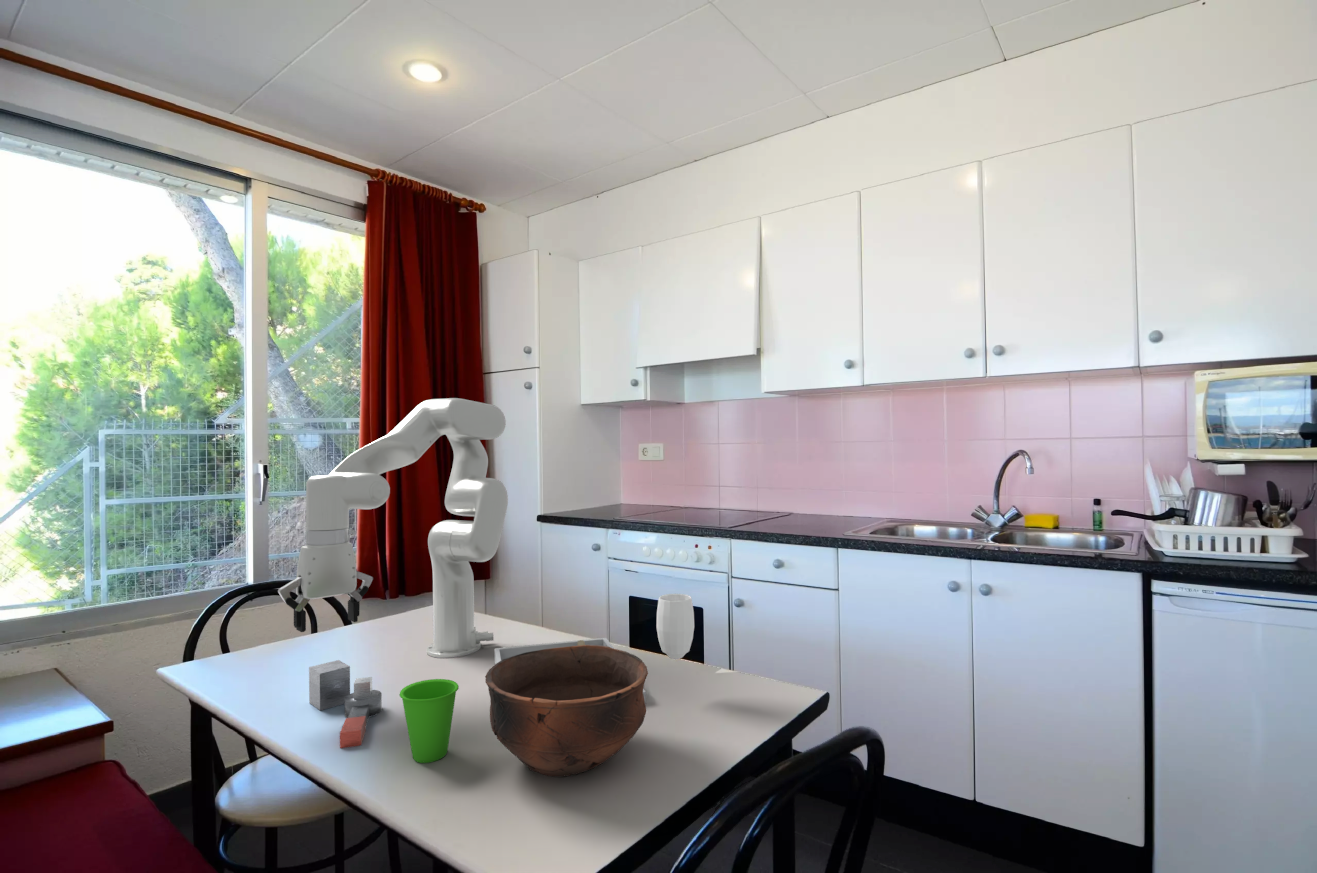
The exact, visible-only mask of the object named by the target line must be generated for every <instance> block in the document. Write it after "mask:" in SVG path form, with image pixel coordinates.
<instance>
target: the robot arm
mask: <svg viewBox="0 0 1317 873" xmlns="http://www.w3.org/2000/svg"><path fill="white" fill-rule="evenodd" d="M506 422H507V420H506V416H505V413H504V412H503V411H502V409H500V408H499V407H498V406H496V405H494V404H490V403H484V402H480V401H476V400H475V401H474V400H469V399H465V398H458V397H449V398H447V397H446V398H431V399H426V400H423V401H422V402H420V403H419V404H417V405H416V406H415V407H414V408H413V409H412V410H411V411H410V412H409V413H408V414H406V416H405V417H403V419H402V420H401V421H400V422H399V423H398V424H397V425H396V426H394V428H393V429H392V430H390V431H389V432H388V433H387V434H385V435H384V436H382V437H380V438H378V439H376V440H374V441H372V442H371V443H368V444H366V445H364V446H363V447H361V448H359V449H357V450H355V451H354V452H352V453H351V454H349V455H348V456H347V457H346V458H344V459H343V460H342V461H340V463H338V465H336V466H335V468H333V469H332V470H331V472H330V473H329V474H322V475H321V474H320V475H312V476H310V477H309V478H308V479H307V480H306V483H305V484H306V487H305V489H306V490H305V493H306V494H305V496H306V497H305V514H306V515H305V516H306V517H305V518H306V520H305V523H306V524H305V545H303V546H301V547H300V550H299V555H298V562H297V569H296V576H295V578H294V579H293V580H291V581H290V582H288V583H286V584H285V585H283V586H281V587H280V588H278V590H277V593H278V594H279V596H280V598H281V599H282V601H283V602H284V603H285V604H286V605H287V606H288V607H290V608H291V609H292V610H293V627H294V628H295V629H296V631H298V632H300V633H304V632H306V631H307V611H306V610H304V609H305V607H306V605H307V604H308V603H309V602H310V600H317V599H325V598H330V597H331V598H332V597H336V596H342V595H347V596H348V597H349V599H348V601H347V620H348V621H351V622H353V623H356V622H358V617H360V602H361V601H362V600H363V597H364V596H365V595H366V594H367V593H368V592H369V587H370V586H371V584H372V582H373V580H374V577H373V576H371V575H369V574H366V573H363V572H360V571H357V564H356V558H355V551H354V546H353V543H352V542H350V540H351V538H352V537H356V535H357V532H356V529H351V528H350V526H349V524H350V522H349V520H350V518H349V515H350V510H351V509H355V510H372V509H373V510H375V509H377V508H379V507H381V506H383V505H384V504H385V503H386V502H387V501H388V499H389V498H390V494H391V487H390V484H389V482H388V480H386V478H384V477H383V476H382V474H384V473H387V472H390V471H394V470H398V469H400V468H403V467H406V466H409V465H412V464H414V463H415V462H417V461H418V460H419V459H420V458H422V456H423V455H424V454H425V453H426V452H427V451H428V449H429V448H431V446H432V445H433V444H434V443H435V442H436V441H437V440H438V439H439V438H440V437H442V436H444V435H445V436H446V437H447V440H448V441H449V443H450V446H451V449H452V451H453V461H452V468H451V472H450V476H449V479H448V483H447V486H446V487H447V488H446V491H445V496H444V506H445V509H446V510H447V512H449V513H450V514H453V515H456V516H462V517H473V520H465V519H464V520H460V519H459V520H458V519H446V520H445V519H444V520H442V521H439V522H437V523H436V524H435V525H433V526H432V527H431V529H430V530H429V533H428V537H427V546H428V547H427V549H428V553H429V556H430V561H431V569H432V616H433V617H432V619H433V620H432V622H433V623H432V626H433V628H432V629H433V632H432V634H433V640H432V641H433V642H432V643H430V644H429V645H428V646H427V647H426V654H427V655H428V656H430V657H432V658H437V659H438V658H440V659H449V658H458V657H459V658H460V657H463V656H466V655H470V654H474V653H475V652H478V650H480V649H481V647H482V643H481V642H491V641H494V632H489V631H488V630H487V631H478V630H477V631H476V626H475V592H474V591H475V590H474V589H475V588H474V587H475V586H474V585H475V581H474V572H473V569H472V566H471V564H470V562H473V563H475V562H476V563H485V562H487V561H489V560H491V559H492V558H493V557H495V555H496V553H497V551H498V548H499V546H500V541H501V537H502V531H503V528H504V524H505V518H506V515H507V514H506V513H507V509H508V503H509V502H508V501H509V498H508V496H509V495H508V490H507V488H506V485H505V484H504V483H503V481H500V480H499V479H497V478H493V477H487V472H488V468H489V458H488V454H487V451H486V448H485V447H484V445H483V444H482V442H481V441H482V440H486V441H487V440H488V441H489V440H495V439H497V438H499V437H500V436H501V435H502V434H503V433H504V431H505V429H506ZM357 579H359V580H361V581H362V582H361V585H359V587H358V588H357V586H358V585H357V583H358V582H357ZM293 590H295V592H296V595H297V597H296V598H295V599H293V598H292V595H291V591H293Z"/></svg>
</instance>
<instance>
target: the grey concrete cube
mask: <svg viewBox="0 0 1317 873" xmlns="http://www.w3.org/2000/svg"><path fill="white" fill-rule="evenodd" d="M308 680H309V681H308V685H309V686H308V688H309V691H308V692H309V693H308V694H309V704H311V706H313V707H315V709H317V710H318V711H324V710H326V709H327V710H328V709H331V708H334V707H337V706H341V705H345V697H346V696H347V695H349V694H351V667H350V665H348V664H347V663H344V662H343V661H341V660H339V659H338V660H333V661H329V662H324V663H320V664H316V665H312V666H309V667H308Z"/></svg>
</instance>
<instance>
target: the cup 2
mask: <svg viewBox="0 0 1317 873" xmlns="http://www.w3.org/2000/svg"><path fill="white" fill-rule="evenodd" d="M655 626H656V632H657V638H658V642H659V643H658V644H659V646H660V648H661V649H660V650H661V651H662V653H664V654H666V655H667V657H669V658H670V659H672V660H676V661H677V660H679V659H682V658H684V656H685V655H686V654H687V653H689V652H690V651H691V650H690V649H691V646H692V643H693V639H694V631H695V611H694V606H693V598H692V596H690V595H689V594H685V593H666V594H663V595H660V596H659V597H658V600H657V609H656V625H655Z"/></svg>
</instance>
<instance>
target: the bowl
mask: <svg viewBox="0 0 1317 873" xmlns="http://www.w3.org/2000/svg"><path fill="white" fill-rule="evenodd" d="M613 648H614V647H613ZM613 648H611V647H608V646H599V645H578V646H571V647H560V648H551V649H543V650H537V651H531V652H526V653H522V654H519V655H516V656H512V657H509V658H506V659H503V660H501V661H500V662H498V663H497V664H495V663H494V665H493V666H491V667H490V668H489V669H488V671H487V672H486V674H485V676H484V677H485V678H484V679H485V684H486V686H487V688H488V694H489V698H490V699H489V700H490V702H489V704H490V705H489V720H490V721H489V722H490V728H491V731H492V732H493V735H494V736H496V739H497V740H498V741H499V742H500V743H501V745H503V746H504V747H505V748H506V749H507V750H508V751H509V752H510V753H511V754H513V755H514V756H515V757H516V758H517V759H518V760H519V761H520V762H521V763H523V764H524V765H525V767H528V768H529V770H530V771H533V772H534V773H539V774H540V775H542V776H543V775H544V776H548V777H562V778H563V777H570V776H571V775H578V774H581V773H584V772H587V771H589V770H591V769H594V768H597V767H598V766H600V765H601V764H603V763H605V762H607V761H608V760H609V759H610V758H612V757H613V756H614V755H616V754H617V753H618V752H619V751H620V750H621V749H622V748H624V746H626V745H627V743H628V742H630V740H631V739H633V737H634V736H635V735H636V733H638V731H639V729H640V728H641V726H642V725H643V722H644V720H645V717H646V712H647V707H646V704H645V701H644V695H643V689H644V685H645V683H646V679H647V677H648V674H649V673H648V671H649V670H648V666H647V665H646V664H645V662H643V660H642V659H641V658H640V657H638V656H636V655H635V654H632V653H630V652H627V651H625V650H621V649H618V648H617V649H616V648H614V649H613Z"/></svg>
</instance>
